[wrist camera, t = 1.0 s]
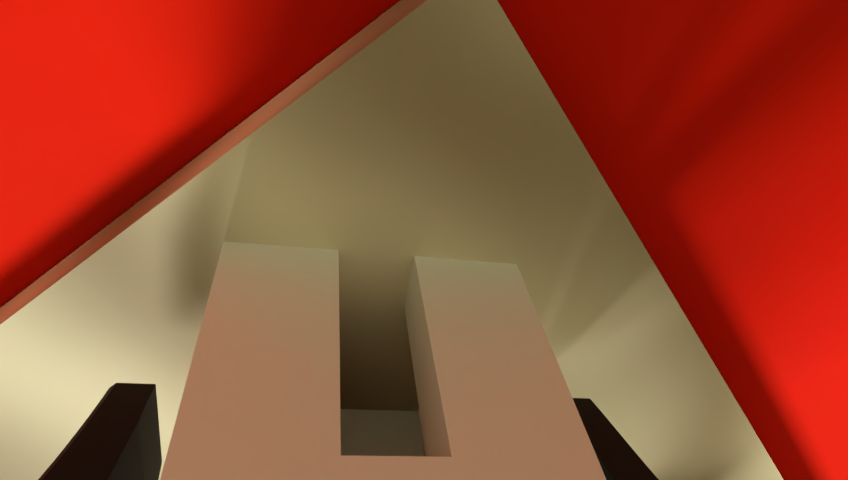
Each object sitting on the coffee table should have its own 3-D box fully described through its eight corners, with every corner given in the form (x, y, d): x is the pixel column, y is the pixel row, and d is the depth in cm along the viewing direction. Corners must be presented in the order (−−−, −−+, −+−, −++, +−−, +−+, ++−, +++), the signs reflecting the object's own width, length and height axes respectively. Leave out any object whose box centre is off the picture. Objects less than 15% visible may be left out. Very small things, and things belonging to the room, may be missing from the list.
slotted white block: (458, 446, 15) (508, 696, 10) (222, 442, 14) (173, 718, 9) (516, 263, 12) (617, 506, 8) (223, 241, 11) (151, 508, 7)
